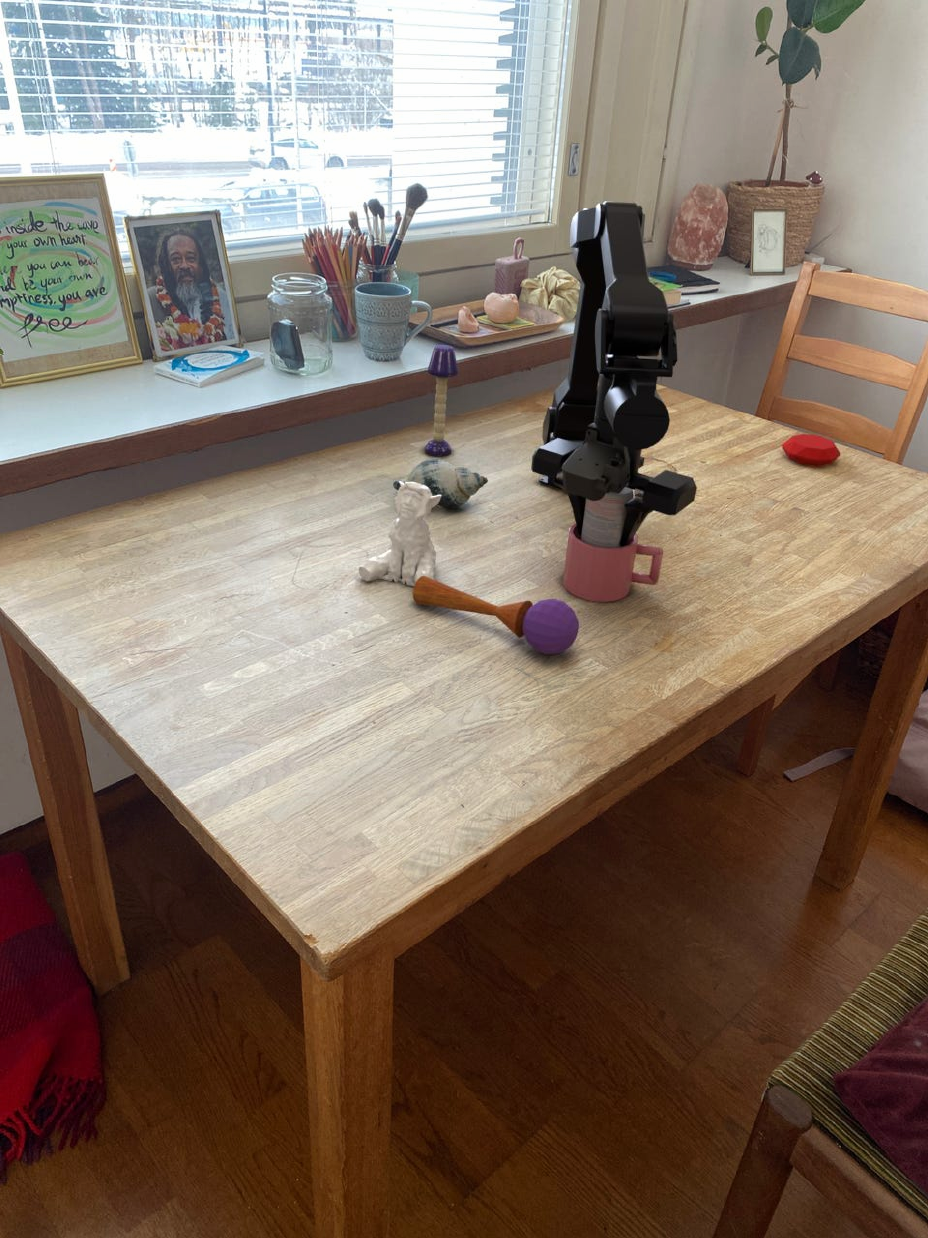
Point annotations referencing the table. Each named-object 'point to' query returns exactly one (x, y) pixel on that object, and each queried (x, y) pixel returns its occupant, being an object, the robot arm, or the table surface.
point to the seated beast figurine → (407, 539)
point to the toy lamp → (441, 395)
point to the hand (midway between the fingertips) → (602, 541)
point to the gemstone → (811, 450)
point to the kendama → (510, 615)
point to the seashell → (445, 481)
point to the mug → (606, 568)
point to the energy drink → (605, 519)
